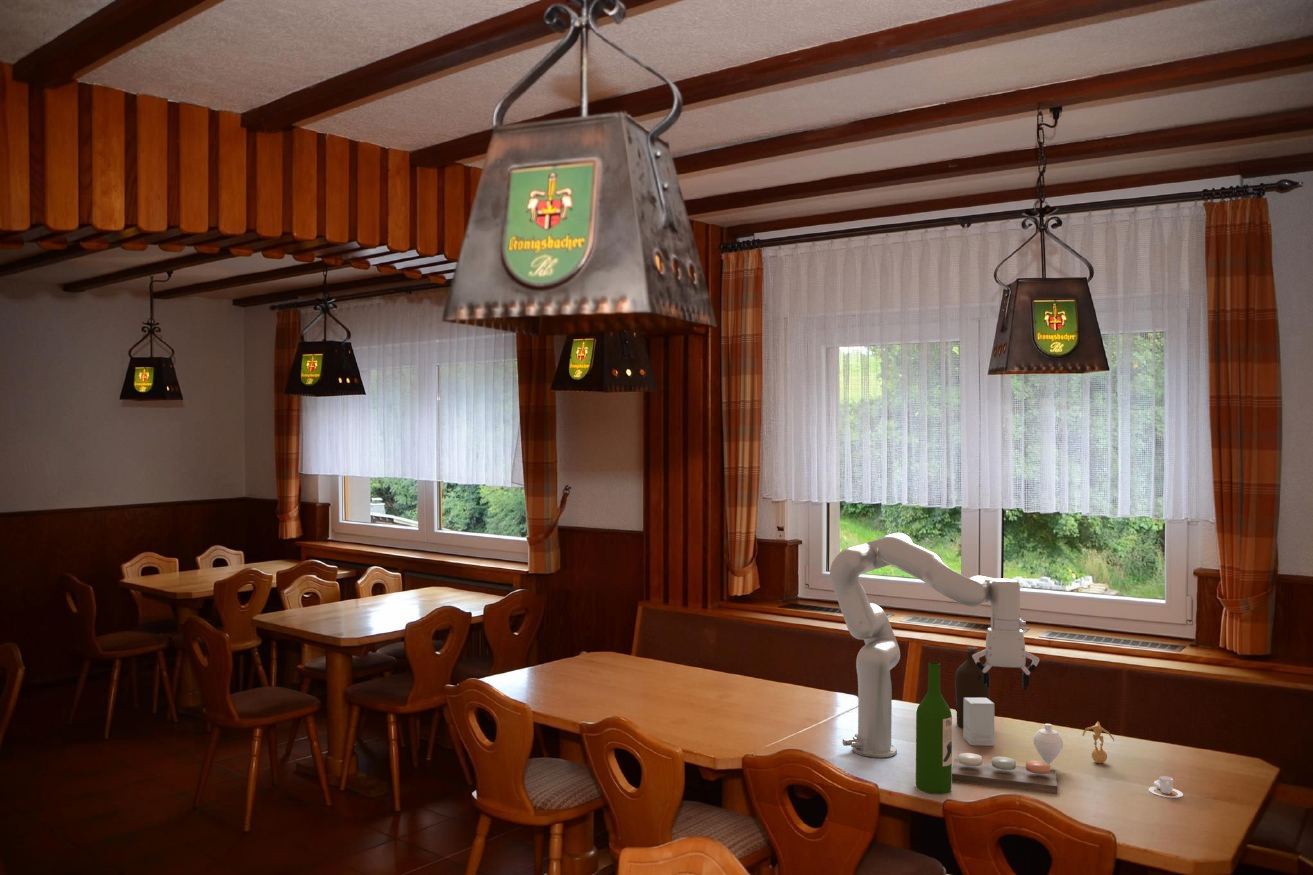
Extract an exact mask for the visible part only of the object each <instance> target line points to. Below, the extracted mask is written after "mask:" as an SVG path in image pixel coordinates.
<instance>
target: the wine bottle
mask: <svg viewBox="0 0 1313 875" xmlns="http://www.w3.org/2000/svg"><path fill="white" fill-rule="evenodd" d="M927 667H928V670H927V671H928V673H927V676H928V678H927V692H926V694H925V696H924V697H923V699H922V700H921V701H920V703H919V704H918V706H917V709H916V713H915V716H916V717H915V785H916V789H917V790H918V791H921V792H923V793H926V794H933V795H944V794H949V793H950V792H951V791H952V768H953V765H952V762H953V760H952V759H953V758H952V753H953V752H952V751H953V750H952V747H953V745H952V743H953V742H952V741H953V715H952V711H951V708H950V707H949V704H948V703H947V701H946V700H945V698H944V696H943V695H942V692H941V663H939V662H937V661H931V662H928V666H927Z"/></svg>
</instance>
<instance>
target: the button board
mask: <svg viewBox="0 0 1313 875" xmlns="http://www.w3.org/2000/svg"><path fill="white" fill-rule="evenodd" d="M951 782H957V783H966V784H972V785H982V786H989V787H996V788H997V787H998V788H1005V789H1013V788H1015V789H1014V790H1022V791H1023V790H1024V791H1029V790H1031V792H1038V793H1048V794H1055V795H1058V782H1057V775H1056V770H1055V769H1050V773H1048V774H1036V773H1032V772H1029V771H1027V770H1026V766H1023V765H1022V766H1021V765H1016V768H1015V769H1013V770H1002V769H997V768H995V767H993V766H992V762H986V761H985V762H984V761H982V765H980V766H967V765H963V764H961V763H959V758H953V765H952V768H951Z"/></svg>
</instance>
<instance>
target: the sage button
mask: <svg viewBox="0 0 1313 875" xmlns="http://www.w3.org/2000/svg"><path fill="white" fill-rule="evenodd" d="M1016 762H1017V761H1016V760H1015V759H1013V758H1010V757H1007V756H994V757H991V763H992V766H993V767H995V768H997V769H1002V770H1013V769H1015V768H1016V766H1017V765H1016V764H1017V763H1016Z"/></svg>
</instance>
